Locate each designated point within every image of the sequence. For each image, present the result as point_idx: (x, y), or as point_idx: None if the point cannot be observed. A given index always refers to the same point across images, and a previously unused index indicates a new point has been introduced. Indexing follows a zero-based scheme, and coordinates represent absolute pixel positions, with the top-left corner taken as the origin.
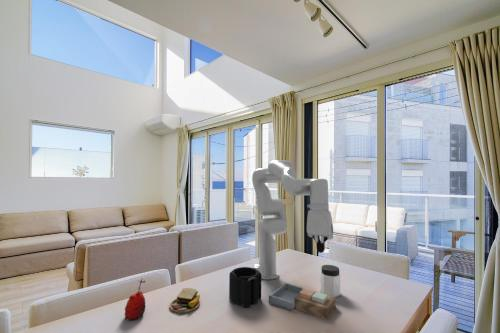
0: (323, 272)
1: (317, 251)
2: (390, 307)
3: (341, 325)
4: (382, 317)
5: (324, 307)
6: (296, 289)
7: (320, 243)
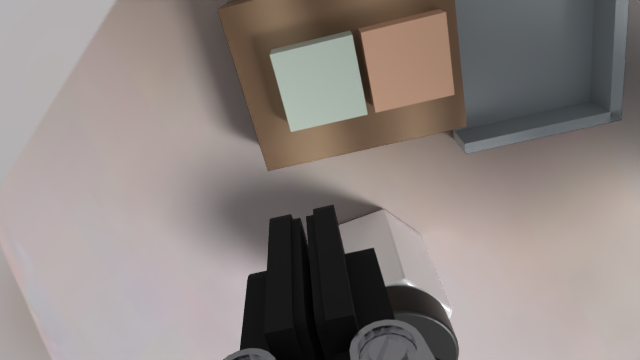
0: (416, 295)
1: (334, 208)
2: (118, 327)
3: (145, 10)
4: (85, 230)
5: (238, 9)
6: (526, 123)
7: (272, 325)
